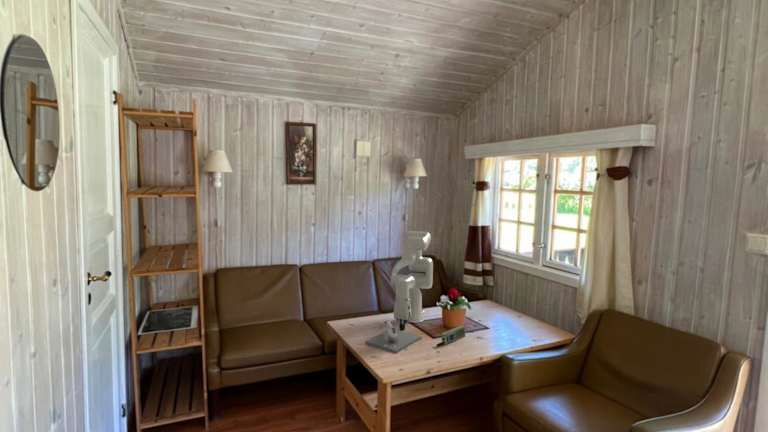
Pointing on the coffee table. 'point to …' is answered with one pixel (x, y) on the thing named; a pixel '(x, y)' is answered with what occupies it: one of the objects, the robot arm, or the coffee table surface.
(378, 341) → the stand plate
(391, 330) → the bar with ball ends
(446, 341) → the handheld radio
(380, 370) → the coffee table surface
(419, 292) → the robot arm
